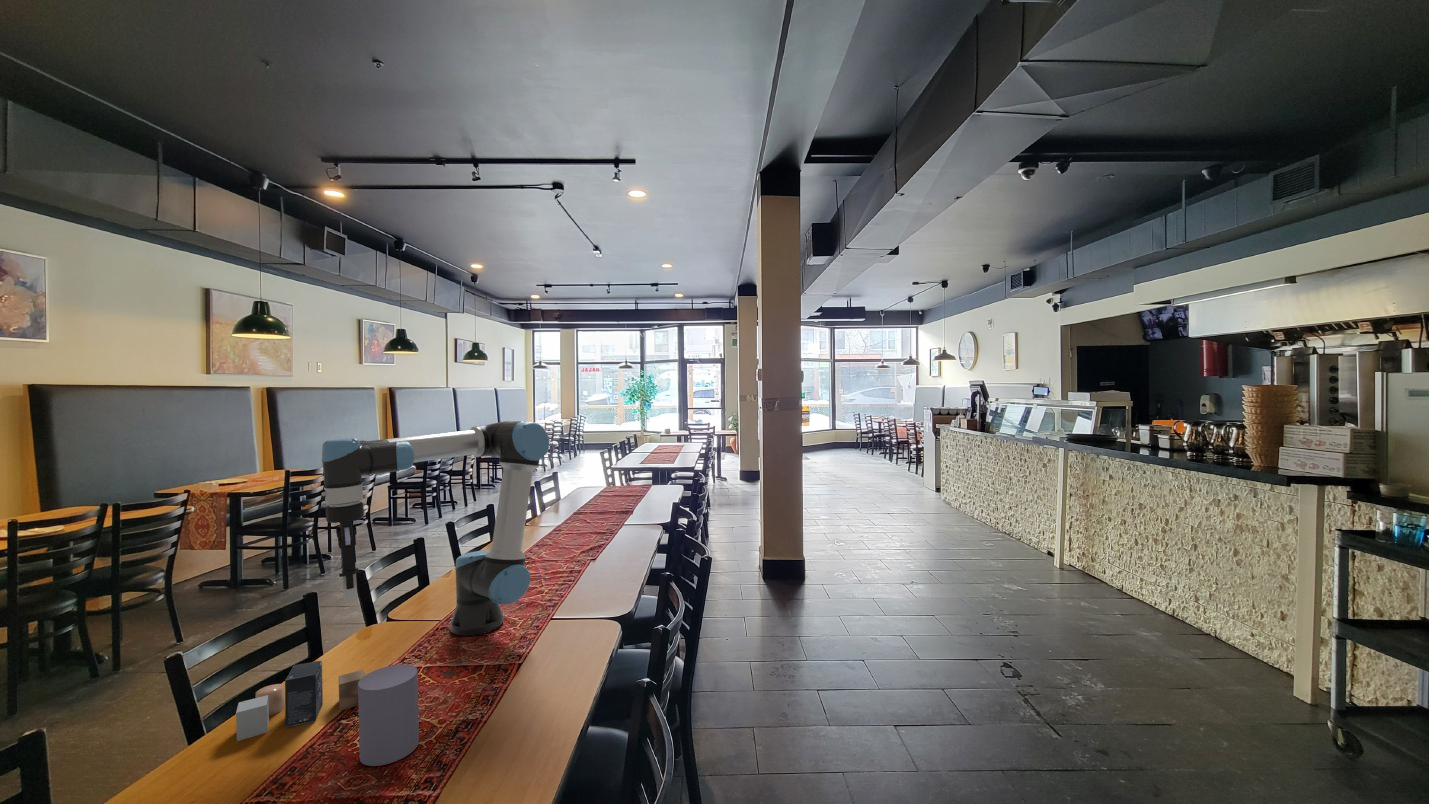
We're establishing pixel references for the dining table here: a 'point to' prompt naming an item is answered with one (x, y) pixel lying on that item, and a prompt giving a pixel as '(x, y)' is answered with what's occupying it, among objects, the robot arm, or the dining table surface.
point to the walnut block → (349, 689)
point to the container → (388, 714)
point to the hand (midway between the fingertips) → (350, 600)
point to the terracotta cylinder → (273, 697)
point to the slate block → (252, 717)
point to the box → (303, 693)
